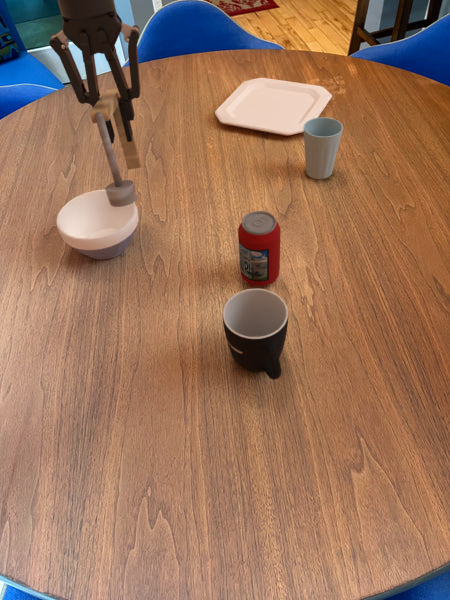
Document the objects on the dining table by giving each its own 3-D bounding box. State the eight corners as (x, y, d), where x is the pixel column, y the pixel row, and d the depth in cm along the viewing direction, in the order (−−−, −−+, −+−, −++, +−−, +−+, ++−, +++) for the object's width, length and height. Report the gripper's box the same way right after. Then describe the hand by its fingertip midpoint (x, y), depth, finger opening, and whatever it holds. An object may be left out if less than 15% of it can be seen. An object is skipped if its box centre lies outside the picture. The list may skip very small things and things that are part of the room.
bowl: (93, 215, 98) (82, 183, 92) (157, 227, 94) (149, 195, 88) (53, 263, 89) (39, 231, 83) (122, 278, 85) (112, 246, 79)
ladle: (135, 204, 73) (110, 111, 66) (107, 209, 74) (79, 117, 66) (146, 164, 88) (126, 85, 81) (123, 168, 89) (101, 89, 81)
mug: (218, 342, 74) (212, 299, 67) (271, 324, 76) (271, 280, 68) (248, 406, 67) (245, 366, 59) (306, 384, 68) (310, 342, 61)
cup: (304, 159, 106) (307, 115, 98) (339, 164, 104) (345, 118, 96) (297, 179, 101) (299, 134, 93) (333, 184, 99) (339, 138, 91)
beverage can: (232, 275, 84) (228, 222, 75) (260, 256, 86) (259, 202, 77) (260, 296, 80) (258, 242, 71) (287, 275, 83) (289, 221, 74)
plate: (248, 83, 132) (248, 75, 130) (336, 96, 124) (337, 87, 122) (207, 126, 118) (206, 118, 116) (303, 145, 110) (303, 136, 108)
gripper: (139, -35, 67) (166, 123, 85) (29, -23, 67) (79, 131, 85) (136, -18, 62) (165, 145, 80) (17, -6, 62) (73, 155, 80)
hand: (121, 138), depth 82 cm, fingers closed on ladle, 2 cm apart
